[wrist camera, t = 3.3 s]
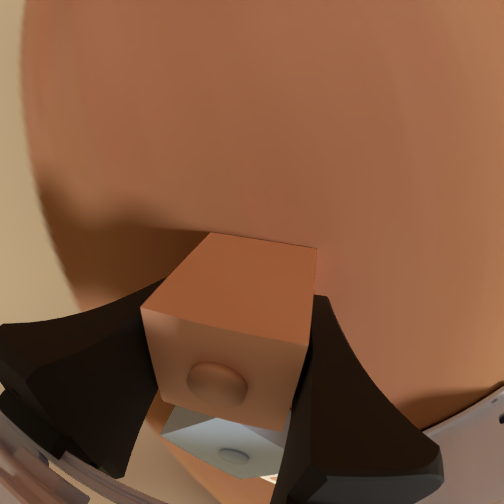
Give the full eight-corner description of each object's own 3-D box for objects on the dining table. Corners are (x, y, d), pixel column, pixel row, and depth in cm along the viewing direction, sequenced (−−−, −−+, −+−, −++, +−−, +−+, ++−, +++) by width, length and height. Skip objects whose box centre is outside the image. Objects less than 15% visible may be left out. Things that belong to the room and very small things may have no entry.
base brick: (241, 370, 14) (223, 419, 11) (322, 426, 15) (317, 470, 12) (176, 402, 18) (158, 438, 15) (249, 447, 19) (238, 482, 16)
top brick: (316, 248, 10) (307, 354, 6) (299, 332, 12) (280, 439, 7) (210, 232, 11) (133, 314, 6) (210, 315, 13) (158, 406, 8)
